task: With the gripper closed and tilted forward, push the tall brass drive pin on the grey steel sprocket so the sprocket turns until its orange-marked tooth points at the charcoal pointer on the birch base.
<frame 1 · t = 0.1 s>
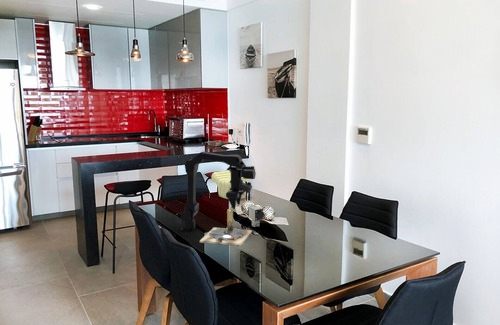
hand: (236, 206, 218), 15 cm above the table, tool pointing down, fingers open, 9 cm apart
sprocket: (226, 223, 212), point 7 cm above the table, hinge at 0.0°
pneumatic valve: (256, 226, 232), on the table
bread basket: (231, 197, 300), on the table
sprocket base: (226, 237, 213), on the table
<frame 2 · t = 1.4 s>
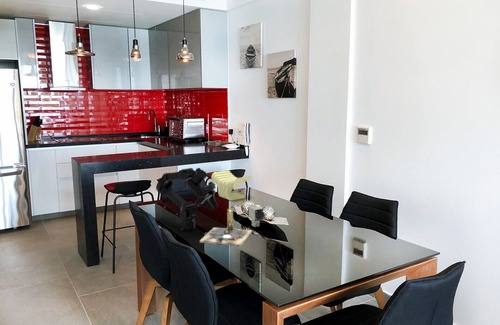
hand: (216, 208, 218), 14 cm above the table, tool tilted 45°, fingers open, 6 cm apart
nothing on the table moved.
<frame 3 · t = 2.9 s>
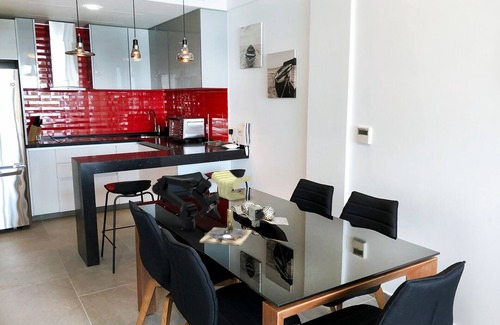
hand: (220, 218, 218), 8 cm above the table, tool tilted 45°, fingers closed
nothing on the table moved.
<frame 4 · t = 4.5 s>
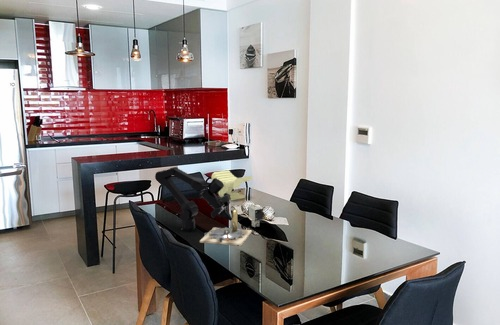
hand: (231, 219, 217), 8 cm above the table, tool tilted 45°, fingers closed, pressing on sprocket
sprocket: (226, 223, 212), point 7 cm above the table, hinge at -25.4°, touching gripper
everything else where it was.
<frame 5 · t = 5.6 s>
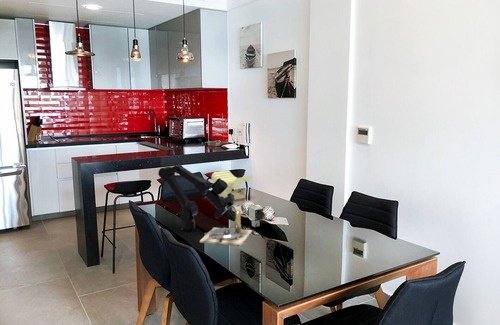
hand: (235, 220, 216), 8 cm above the table, tool tilted 45°, fingers closed
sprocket: (226, 223, 212), point 7 cm above the table, hinge at -50.1°, touching gripper
everything else where it was.
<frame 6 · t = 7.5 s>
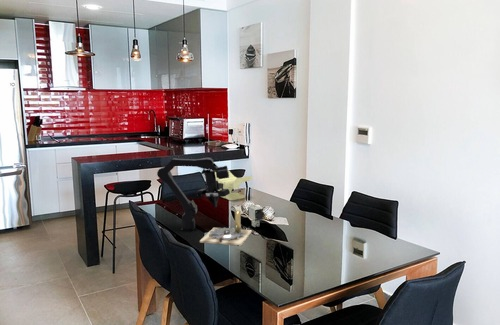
hand: (215, 207, 225), 12 cm above the table, tool pointing down, fingers closed
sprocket: (226, 223, 212), point 7 cm above the table, hinge at -50.2°
everything else where it was.
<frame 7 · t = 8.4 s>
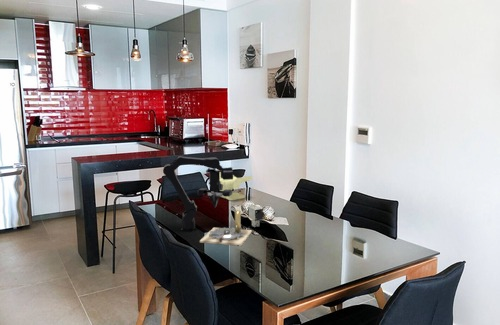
hand: (215, 207, 227), 12 cm above the table, tool pointing down, fingers closed
nothing on the table moved.
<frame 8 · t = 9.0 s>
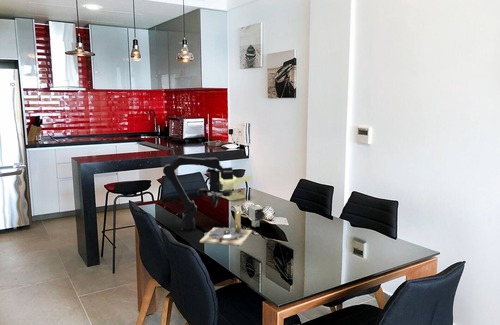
hand: (215, 207, 227), 12 cm above the table, tool pointing down, fingers closed
nothing on the table moved.
at the end: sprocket at -50° (first picture: +0°); pneumatic valve moved 0.2 cm from its start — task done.
